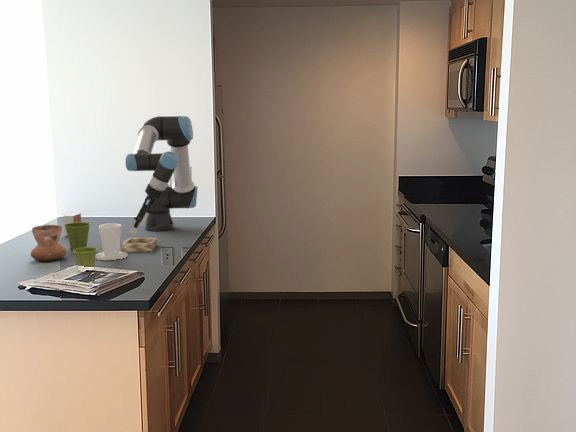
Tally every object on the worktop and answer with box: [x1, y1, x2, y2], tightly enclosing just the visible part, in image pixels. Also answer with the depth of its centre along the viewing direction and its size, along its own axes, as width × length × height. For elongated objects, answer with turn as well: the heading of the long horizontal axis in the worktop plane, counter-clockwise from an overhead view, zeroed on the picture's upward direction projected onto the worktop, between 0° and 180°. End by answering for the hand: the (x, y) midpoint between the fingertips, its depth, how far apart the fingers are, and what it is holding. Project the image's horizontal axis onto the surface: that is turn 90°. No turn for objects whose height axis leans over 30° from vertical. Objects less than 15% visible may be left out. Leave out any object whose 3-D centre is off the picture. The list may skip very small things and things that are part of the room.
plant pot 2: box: [72, 246, 98, 268], centre depth 270 cm, size 9×9×9 cm
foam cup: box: [98, 223, 122, 256], centre depth 292 cm, size 10×9×13 cm
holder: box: [120, 237, 158, 253], centre depth 309 cm, size 13×13×4 cm
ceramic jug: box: [30, 224, 67, 262], centre depth 290 cm, size 18×14×14 cm
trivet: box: [95, 250, 129, 261], centre depth 293 cm, size 14×14×1 cm
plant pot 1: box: [63, 221, 91, 250], centre depth 311 cm, size 12×12×11 cm
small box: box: [62, 212, 82, 237], centre depth 342 cm, size 8×6×10 cm
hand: (136, 229), depth 293 cm, fingers open, 13 cm apart
